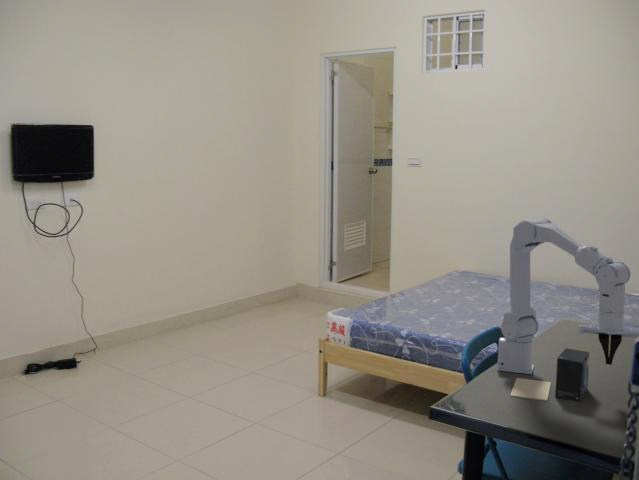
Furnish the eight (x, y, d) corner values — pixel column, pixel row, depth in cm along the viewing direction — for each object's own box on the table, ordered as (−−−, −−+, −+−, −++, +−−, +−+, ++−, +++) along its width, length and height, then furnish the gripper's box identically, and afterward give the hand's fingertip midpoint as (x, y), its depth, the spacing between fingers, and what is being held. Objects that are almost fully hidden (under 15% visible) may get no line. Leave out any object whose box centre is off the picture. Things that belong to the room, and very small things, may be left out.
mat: (510, 396, 165) (510, 394, 165) (516, 379, 178) (516, 378, 178) (547, 400, 161) (547, 399, 161) (551, 383, 174) (551, 382, 174)
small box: (581, 402, 160) (583, 361, 159) (554, 397, 164) (555, 357, 163) (588, 389, 169) (590, 351, 168) (563, 385, 173) (564, 347, 171)
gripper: (579, 311, 160) (577, 364, 161) (644, 316, 154) (641, 371, 156) (580, 305, 166) (578, 356, 168) (642, 310, 160) (640, 363, 162)
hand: (608, 363), depth 162 cm, fingers closed
